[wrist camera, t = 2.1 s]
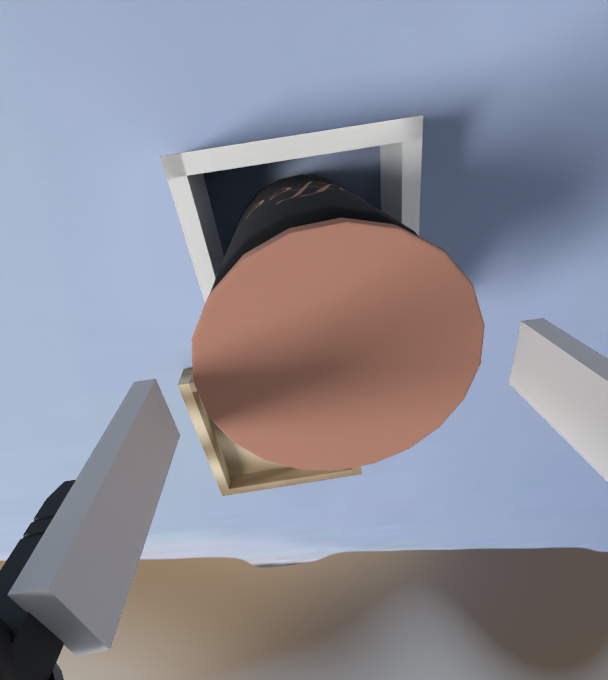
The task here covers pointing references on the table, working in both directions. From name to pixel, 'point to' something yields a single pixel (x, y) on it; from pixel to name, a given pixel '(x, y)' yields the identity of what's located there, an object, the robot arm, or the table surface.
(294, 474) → the tray
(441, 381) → the coffee jar
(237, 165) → the frame
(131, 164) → the table surface
